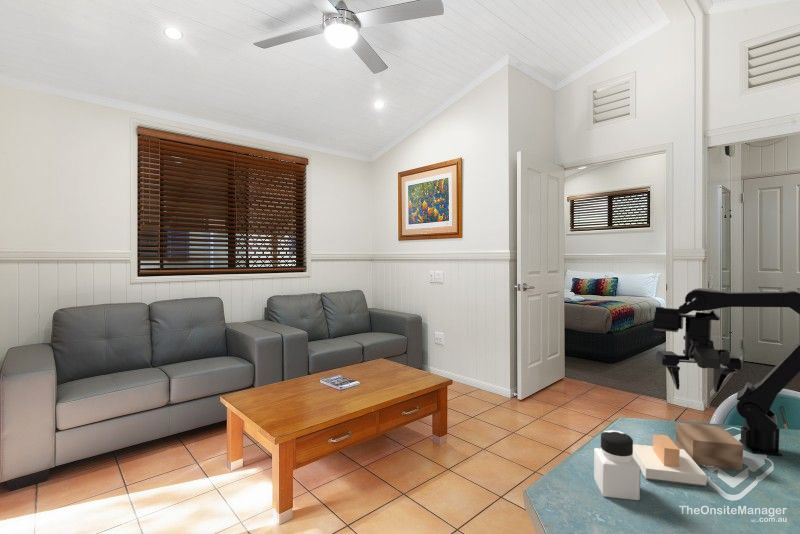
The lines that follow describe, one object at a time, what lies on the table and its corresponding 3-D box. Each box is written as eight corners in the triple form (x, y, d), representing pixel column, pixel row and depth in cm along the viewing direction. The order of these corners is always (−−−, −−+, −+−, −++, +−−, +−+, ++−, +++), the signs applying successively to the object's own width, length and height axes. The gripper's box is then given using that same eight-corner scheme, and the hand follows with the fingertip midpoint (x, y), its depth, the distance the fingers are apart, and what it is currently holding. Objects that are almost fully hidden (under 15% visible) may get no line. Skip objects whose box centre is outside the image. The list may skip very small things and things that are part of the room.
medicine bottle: (640, 501, 83) (641, 443, 82) (602, 497, 84) (603, 440, 84) (628, 481, 90) (629, 428, 89) (593, 478, 91) (594, 425, 91)
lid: (683, 458, 98) (684, 433, 98) (706, 485, 87) (707, 457, 87) (630, 452, 101) (630, 428, 101) (645, 478, 90) (646, 450, 90)
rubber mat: (682, 460, 98) (682, 458, 98) (703, 486, 88) (703, 484, 87) (632, 455, 101) (632, 453, 101) (646, 479, 90) (646, 477, 90)
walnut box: (720, 449, 103) (721, 426, 103) (742, 470, 94) (743, 444, 93) (675, 445, 106) (676, 422, 106) (692, 464, 96) (693, 440, 96)
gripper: (670, 339, 106) (669, 398, 107) (755, 343, 101) (753, 404, 102) (655, 330, 117) (654, 384, 117) (731, 333, 112) (730, 389, 113)
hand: (696, 390), depth 112 cm, fingers open, 9 cm apart
